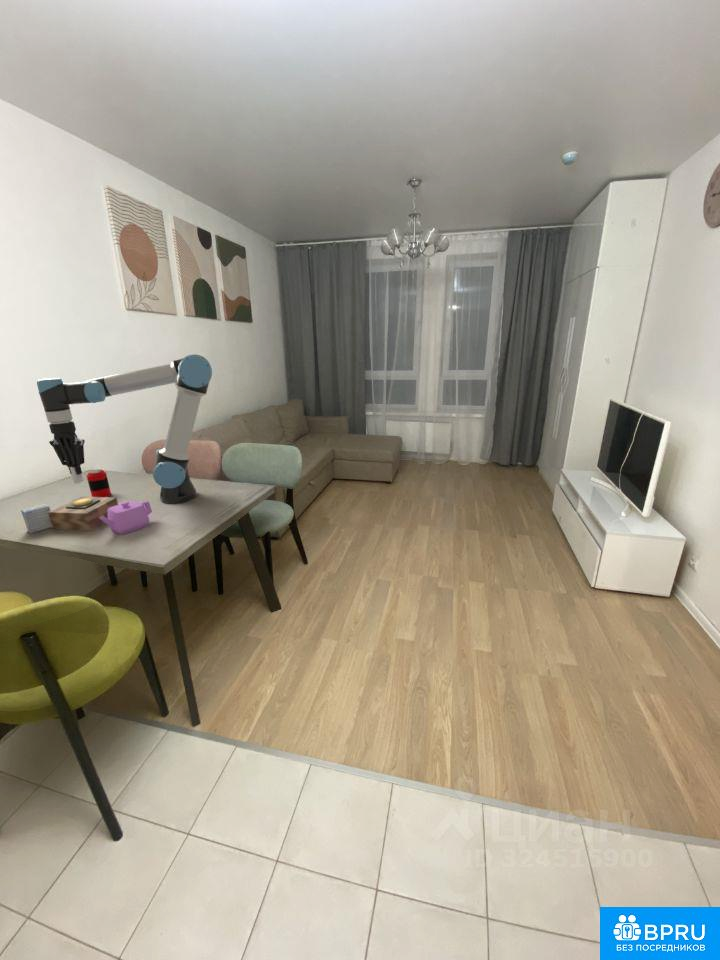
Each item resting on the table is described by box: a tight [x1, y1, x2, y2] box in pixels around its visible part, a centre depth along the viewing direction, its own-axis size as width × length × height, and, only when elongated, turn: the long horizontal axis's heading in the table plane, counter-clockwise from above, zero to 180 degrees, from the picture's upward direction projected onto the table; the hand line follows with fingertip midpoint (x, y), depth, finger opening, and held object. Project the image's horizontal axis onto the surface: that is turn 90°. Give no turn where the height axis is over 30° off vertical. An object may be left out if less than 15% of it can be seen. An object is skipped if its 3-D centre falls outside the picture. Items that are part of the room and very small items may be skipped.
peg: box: [74, 498, 92, 506], centre depth 158 cm, size 6×6×8 cm
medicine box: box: [21, 503, 53, 534], centre depth 152 cm, size 8×4×9 cm, turn 141°
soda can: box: [86, 469, 112, 497], centre depth 184 cm, size 8×8×12 cm
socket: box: [48, 496, 119, 531], centre depth 158 cm, size 16×16×8 cm
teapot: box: [99, 500, 153, 536], centre depth 151 cm, size 18×10×10 cm, turn 143°
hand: (78, 482), depth 154 cm, fingers closed
